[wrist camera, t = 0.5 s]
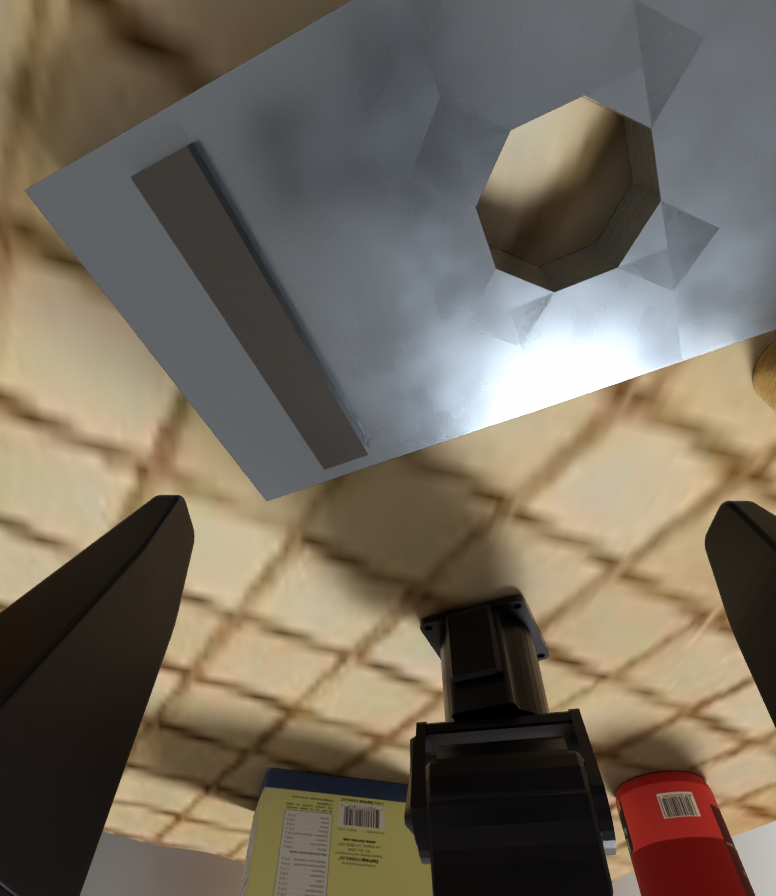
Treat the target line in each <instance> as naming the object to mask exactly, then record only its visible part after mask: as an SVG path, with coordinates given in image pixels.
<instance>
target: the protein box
mask: <svg viewBox="0 0 776 896" xmlns="http://www.w3.org/2000/svg"><path fill="white" fill-rule="evenodd" d="M407 792H408V785H405V784H396V783H388V782H380V781H372V780H364V779H356V778H348V777H340V776H332V775H323V774H315V773H307V772H299V771H290V770H282V769H275V768H271V769H268V770H267V772H266V775H265V778H264V782H263V785H262V788H261V792H260V795H259V799H258V803H257V806H256V810H255V813H254V817H253V823H252V828H251V833H250V839H249V844H248V850H247V856H246V861H245V868H244V873H243V879H242V885H241V891H240V896H433V889H432V875H431V864H426V865H423V864H422V863H421V860H420V856H419V852H418V847H417V845H416V842H415V837H414V835H413V834H412V833H411V831H410V830H409V829H408V828H407V827H406V826H405V821H404V812H405V805H406V798H407Z"/></svg>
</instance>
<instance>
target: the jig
mask: <svg viewBox="0 0 776 896" xmlns="http://www.w3.org/2000/svg"><path fill="white" fill-rule="evenodd" d="M580 97H584V98H586V99H588V100H590V101H592V102H594V103H596V104H598V105H600V106H602V107H604V108H606V109H608V110H610V111H612V112H614V113H616V114H618V115H620V116H622V117H623V122H624V128H625V135H626V141H627V147H628V153H629V160H630V166H631V172H632V179H633V183H632V185H631V186H630V188H629V190H628V191H627V193H626V195H625V196H624V198H623V200H622V201H621V203H620V205H619V206H618V208H617V209H616V211H615V213H614V214H613V216H612V218H611V219H610V221H609V223H608V224H607V226H606V228H605V229H604V231H603V233H602V234H601V236H600V238H599V239H598V241H597V242H596V244H594V245H591V246H589V247H586V248H584V249H581V250H579V251H576V252H574V253H572V254H569V255H567V256H564V257H562V258H559V259H557V260H554V261H552V262H549V263H547V264H544V265H542V266H536V265H534V264H531V263H529V262H526V261H524V260H522V259H519V258H517V257H514V256H512V255H510V254H507V253H505V252H502V251H500V250H498V249H495V248H493V247H490V246H488V243H487V240H486V237H485V234H484V231H483V228H482V225H481V222H480V219H479V216H478V213H477V210H476V205H477V203H478V201H479V198H480V196H481V194H482V192H483V190H484V187H485V185H486V183H487V181H488V179H489V176H490V174H491V172H492V170H493V168H494V166H495V163H496V161H497V159H498V157H499V155H500V152H501V150H502V148H503V146H504V144H505V141H506V139H507V137H508V135H509V133H510V131H511V130H512V129H514V128H517V127H519V126H521V125H523V124H525V123H527V122H529V121H531V120H533V119H535V118H538V117H540V116H542V115H544V114H546V113H548V112H550V111H552V110H554V109H557V108H559V107H561V106H563V105H565V104H567V103H569V102H571V101H573V100H575V99H578V98H580ZM25 192H26V193H27V194H28V196H29V197H30V198H31V199H32V201H33V202H34V203H35V205H36V206H37V207H38V208H39V210H40V211H41V212H42V214H43V215H44V216H45V217H46V219H47V220H48V221H49V223H50V224H51V225H52V226H53V228H54V229H55V230H56V232H57V233H58V234H59V235H60V237H61V238H62V239H63V241H64V242H65V243H66V244H67V246H68V247H69V248H70V249H71V251H72V252H73V253H74V255H75V256H76V257H77V258H78V260H79V261H80V262H81V264H82V265H83V266H84V267H85V269H86V270H87V271H88V273H89V274H90V275H91V276H92V278H93V279H94V280H95V282H96V283H97V284H98V285H99V287H100V288H101V289H102V291H103V292H104V293H105V294H106V296H107V297H108V298H109V300H110V301H111V302H112V303H113V305H114V306H115V307H116V309H117V310H118V311H119V312H120V314H121V315H122V316H123V318H124V319H125V320H126V321H127V323H128V324H129V325H130V327H131V328H132V329H133V330H134V332H135V333H136V334H137V335H138V337H139V338H140V339H141V341H142V342H143V343H144V344H145V346H146V347H147V348H148V350H149V351H150V352H151V353H152V355H153V356H154V357H155V359H156V360H157V361H158V362H159V364H160V365H161V366H162V368H163V369H164V370H165V371H166V373H167V374H168V375H169V377H170V378H171V379H172V380H173V382H174V383H175V384H176V386H177V387H178V388H179V389H180V391H181V392H182V393H183V395H184V396H185V397H186V398H187V400H188V401H189V402H190V404H191V405H192V406H193V407H194V409H195V410H196V411H197V413H198V414H199V415H200V416H201V418H202V419H203V420H204V422H205V423H206V424H207V425H208V427H209V428H210V429H211V430H212V432H213V433H214V434H215V436H216V437H217V438H218V439H219V441H220V442H221V443H222V445H223V446H224V447H225V448H226V450H227V451H228V452H229V454H230V455H231V456H232V457H233V459H234V460H235V461H236V463H237V464H238V465H239V466H240V468H241V469H242V470H243V472H244V473H245V474H246V475H247V477H248V478H249V479H250V481H251V482H252V483H253V484H254V486H255V487H256V488H257V490H258V491H259V492H260V493H261V495H262V496H263V497H264V499H265V500H266V501H269V500H272V499H275V498H278V497H281V496H284V495H286V494H289V493H292V492H295V491H298V490H301V489H304V488H307V487H310V486H313V485H316V484H319V483H322V482H325V481H328V480H331V479H334V478H337V477H340V476H343V475H346V474H349V473H352V472H355V471H358V470H361V469H364V468H367V467H370V466H373V465H375V464H378V463H381V462H384V461H387V460H390V459H393V458H396V457H399V456H402V455H405V454H408V453H411V452H414V451H417V450H420V449H423V448H426V447H429V446H432V445H435V444H438V443H441V442H444V441H447V440H450V439H453V438H456V437H459V436H462V435H464V434H467V433H470V432H473V431H476V430H479V429H482V428H485V427H488V426H491V425H494V424H497V423H500V422H503V421H506V420H509V419H512V418H515V417H518V416H521V415H524V414H527V413H530V412H533V411H536V410H539V409H542V408H545V407H548V406H551V405H553V404H556V403H559V402H562V401H565V400H568V399H571V398H574V397H577V396H580V395H583V394H586V393H589V392H592V391H595V390H598V389H601V388H604V387H607V386H610V385H613V384H616V383H619V382H622V381H625V380H628V379H631V378H634V377H637V376H640V375H642V374H645V373H648V372H651V371H654V370H657V369H660V368H663V367H666V366H669V365H672V364H675V363H678V362H681V361H684V360H687V359H690V358H693V357H696V356H699V355H702V354H705V353H708V352H711V351H714V350H717V349H720V348H723V347H726V346H729V345H731V344H734V343H737V342H740V341H743V340H746V339H749V338H752V337H755V336H758V335H761V334H764V333H767V332H770V331H773V330H776V0H351V1H350V2H348V3H346V4H344V5H343V6H341V7H339V8H337V9H336V10H334V11H332V12H331V13H329V14H327V15H325V16H324V17H322V18H320V19H319V20H317V21H315V22H313V23H312V24H310V25H308V26H307V27H305V28H303V29H301V30H300V31H298V32H296V33H294V34H293V35H291V36H289V37H288V38H286V39H284V40H282V41H281V42H279V43H277V44H276V45H274V46H272V47H270V48H269V49H267V50H265V51H264V52H262V53H260V54H258V55H257V56H255V57H253V58H251V59H250V60H248V61H246V62H245V63H243V64H241V65H239V66H238V67H236V68H234V69H233V70H231V71H229V72H227V73H226V74H224V75H222V76H220V77H219V78H217V79H215V80H214V81H212V82H210V83H208V84H207V85H205V86H203V87H202V88H200V89H198V90H196V91H195V92H193V93H191V94H190V95H188V96H186V97H184V98H183V99H181V100H179V101H177V102H176V103H174V104H172V105H171V106H169V107H167V108H165V109H164V110H162V111H160V112H159V113H157V114H155V115H153V116H152V117H150V118H148V119H147V120H145V121H143V122H141V123H140V124H138V125H136V126H134V127H133V128H131V129H129V130H128V131H126V132H124V133H122V134H121V135H119V136H117V137H116V138H114V139H112V140H110V141H109V142H107V143H105V144H104V145H102V146H100V147H98V148H97V149H95V150H93V151H91V152H90V153H88V154H86V155H85V156H83V157H81V158H79V159H78V160H76V161H74V162H73V163H71V164H69V165H67V166H66V167H64V168H62V169H60V170H59V171H57V172H55V173H54V174H52V175H50V176H48V177H47V178H45V179H43V180H42V181H40V182H38V183H36V184H35V185H33V186H31V187H30V188H28V189H26V190H25Z"/></svg>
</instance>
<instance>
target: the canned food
mask: <svg viewBox="0 0 776 896" xmlns="http://www.w3.org/2000/svg"><path fill="white" fill-rule="evenodd" d="M616 806H617V810H618V813H619V817H620V820H621V824H622V828H623V831H624V835H625V839H626V842H627V846H628V849H629V853H630V857H631V860H632V864H633V867H634V871H635V875H636V878H637V882H638V885H639V889H640V893H641V896H755V894H754V891H753V889H752V886H751V884H750V882H749V879H748V877H747V874H746V872H745V870H744V867H743V865H742V862H741V860H740V858H739V855H738V853H737V850H736V848H735V846H734V844H733V841H732V838H731V836H730V834H729V831H728V829H727V826H726V824H725V822H724V819H723V817H722V814H721V812H720V810H719V807H718V805H717V802H716V800H715V798H714V795H713V793H712V791H711V789H710V788H709V786H708V785H707V784H706V782H705V781H704V780H703V779H702V778H701V777H699V776H697V775H695V774H692V773H688V772H680V771H664V772H656V773H650V774H645V775H642V776H639V777H636V778H633V779H631V780H629V781H627V782H625V783H624V784H623V785H621V786H620V788H619V789H618V790H617V793H616Z"/></svg>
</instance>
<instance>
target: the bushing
mask: <svg viewBox="0 0 776 896" xmlns="http://www.w3.org/2000/svg"><path fill="white" fill-rule="evenodd" d="M753 386H754V389H755V391H756V393H757V394H758V395H759V396H760V397H761V398H762V399H763V400H764V401H765V402H766V403H767V404H768V405H769V406H770V408H771V409H772V410H773V411H774V412H775V413H776V340H775V341H774V342H773V343H771V344H770V345H769V347H768V348H767V349H766V350H765V351H764V352H763V354H762V355H761V357H760V358H759V360H758V362H757V364H756V366H755V369H754V373H753Z"/></svg>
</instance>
